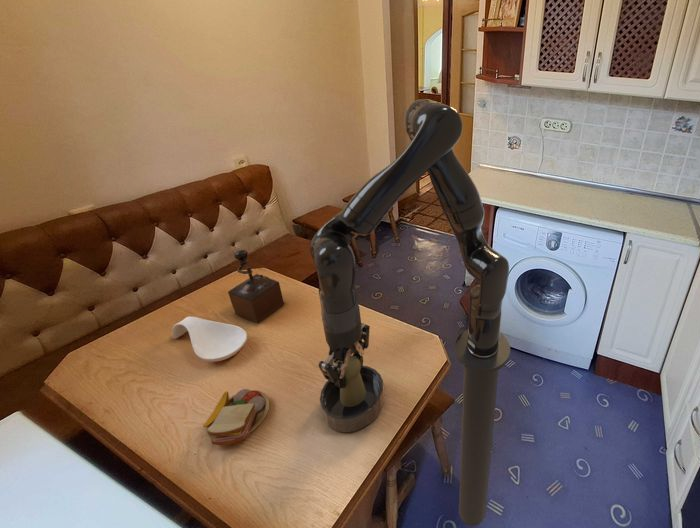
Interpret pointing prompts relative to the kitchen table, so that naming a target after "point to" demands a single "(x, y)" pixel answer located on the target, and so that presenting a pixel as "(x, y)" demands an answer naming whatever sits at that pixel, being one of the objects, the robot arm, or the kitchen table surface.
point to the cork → (352, 384)
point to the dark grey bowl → (356, 415)
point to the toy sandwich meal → (236, 416)
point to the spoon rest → (211, 338)
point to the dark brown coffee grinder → (255, 294)
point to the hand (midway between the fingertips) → (350, 376)
